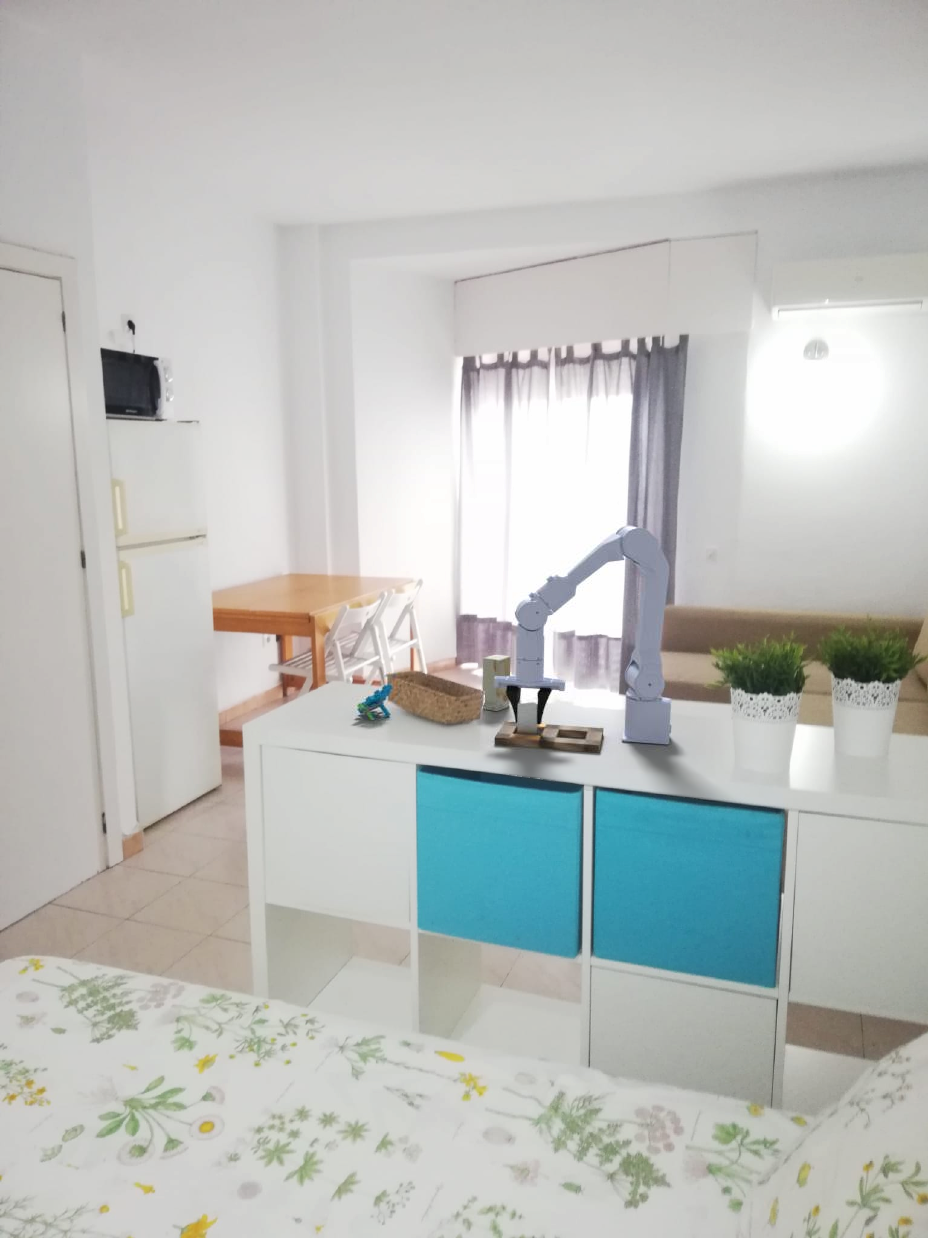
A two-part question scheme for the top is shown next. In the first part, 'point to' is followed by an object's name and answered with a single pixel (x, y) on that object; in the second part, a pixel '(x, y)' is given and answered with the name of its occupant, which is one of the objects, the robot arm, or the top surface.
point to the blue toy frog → (375, 702)
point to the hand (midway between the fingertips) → (528, 722)
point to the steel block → (527, 717)
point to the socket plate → (552, 737)
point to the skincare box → (491, 669)
